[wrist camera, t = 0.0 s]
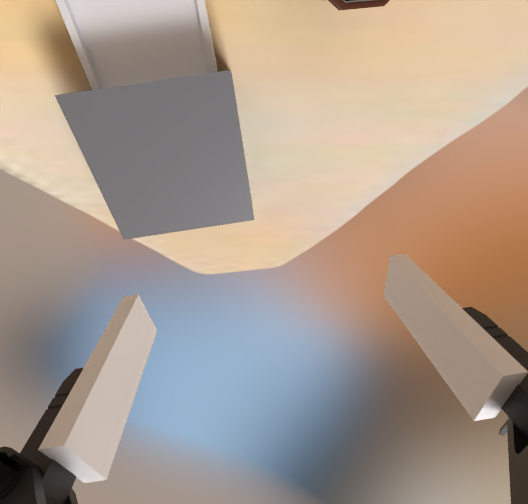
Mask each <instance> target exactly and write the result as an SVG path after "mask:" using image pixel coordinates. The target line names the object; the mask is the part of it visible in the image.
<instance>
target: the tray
mask: <svg viewBox="0 0 528 504" xmlns="http://www.w3.org/2000/svg"><path fill="white" fill-rule="evenodd" d="M55 1H56V3H57V6H58V8H59V10H60V13H61V15H62V18H63V20H64V23H65V25H66V28H67V30H68V32H69V35H70V37H71V40H72V42H73V45H74V47H75V50H76V52H77V55H78V57H79V59H80V62H81V64H82V67H83V69H84V72H85V74H86V77H87V79H88V81H89V84H90V86H91V89H92V90H95V89H102V88H109V87H116V86H123V85H130V84H137V83H144V82H151V81H157V80H164V79H171V78H178V77H185V76H192V75H199V74H206V73H213V72H218V69H217V63H216V58H215V52H214V47H213V41H212V35H211V30H210V24H209V19H208V13H207V8H206V2H205V0H55Z"/></svg>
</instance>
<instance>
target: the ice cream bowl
mask: <svg viewBox="0 0 528 504" xmlns="http://www.w3.org/2000/svg"><path fill="white" fill-rule="evenodd" d="M328 1H330V2H331V3H332V4H333V5H334V6H335V7H336V8H337V9H338V10H347V9H358V8H368V7H379V6H384V5H385V4H386V3H387V2H388V1H389V0H328Z"/></svg>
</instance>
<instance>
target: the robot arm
mask: <svg viewBox="0 0 528 504" xmlns="http://www.w3.org/2000/svg"><path fill="white" fill-rule="evenodd" d="M384 297H385V298H386V300H387V301H388V302H389V304H390V305H391V307H392V308H393V309H394V311H395V312H396V313H397V315H398V316H399V318H400V319H401V320H402V322H403V323H404V325H405V326H406V327H407V329H408V330H409V331H410V333H411V334H412V335H413V337H414V338H415V340H416V341H417V343H418V344H419V345H420V347H421V348H422V350H423V351H424V352H425V353H426V355H427V356H428V358H429V359H430V361H431V362H432V363H433V365H434V366H435V367H436V369H437V370H438V372H439V373H440V374H441V376H442V377H443V379H444V380H445V381H446V383H447V384H448V386H449V387H450V388H451V390H452V391H453V392H454V394H455V395H456V397H457V398H458V399H459V400H460V402H461V404H462V405H463V406H464V408H465V409H466V410H467V412H468V413H469V414H470V416H471V417H472V419H473V420H474V421H477V420H483V419H489V418H495V417H496V416H497V414H498V413H499V412H500V410H501V409H503V411H504V412H505V413H506V414H507V415H508V417H509V419H508V420H507V421H506V422H505V424H504V425H503V426H502V428H501V429H500V432H499V434H500V435H502V436H504V434H505V433H506V432H507V433H508V450H509V451H508V452H509V472H510V491H511V504H528V352H527V351H526V350H524V349H523V348H522V347H521V346H520V345H519V344H518V343H516V341H514V340H513V339H512V338H511V337H510V336H509V337H508V336H507V334H506V333H505V332H504V331H503V330H502V329H501V328H498V326H497V325H496V324H495V323H494V322H493V321H492V320H491V319H490V318H488V317H487V316H486V315H485V314H483V313H481V312H479V311H478V310H476V309H474V308H472V307H467V308H461V307H460V306H459V305H458V304H457V303H456V302H455V301H454V300H453V299H451V297H449V295H447V294H446V293H445V292H444V291H443V290H442V289H441V288H440V287H439V286H438V285H437V284H436V283H435V282H434V281H433V280H432V279H431V278H430V277H429V276H428V275H426V273H425V272H423V271H422V270H421V269H420V268H419V267H418V266H417V265H416V264H415V263H414V262H413V261H412V260H411V259H410V258H409V257H408V256H407V255H406V254H400V255H394V256H390V261H389V267H388V273H387V279H386V285H385V291H384ZM156 332H157V330H156V328H155V326H154V324H153V322H152V320H151V319H150V316H149V314H148V312H147V310H146V309H145V307H144V305H143V303H142V301H141V299H140V297H139V295H132V296H126V297H123V299H122V300H121V302H120V304H119V306H118V308H117V309H116V311H115V313H114V315H113V317H112V318H111V320H110V322H109V324H108V326H107V328H106V329H105V331H104V333H103V335H102V336H101V338H100V340H99V342H98V343H97V345H96V347H95V349H94V351H93V352H92V354H91V356H90V358H89V359H88V361H87V363H86V365H85V367H84V368H80V369H75V370H74V371H73V372H72V373H71V374H70V375H69V376H68V377H67V378H66V379H65V380H64V382H63V383H62V385H61V386H60V388H59V390H58V391H57V393H56V395H55V398H53V400H52V401H51V403H50V405H49V406H48V410H46V411H45V413H44V414H43V416H42V418H41V419H40V421H39V423H38V424H37V426H36V428H35V429H34V431H33V433H32V434H31V436H30V438H29V439H28V441H27V443H26V444H25V446H24V448H23V449H22V451H21V453H20V454H19V453H18V452H16V451H15V450H13V449H12V448H9V447H1V448H0V504H78V502H77V498H76V495H75V492H74V491H73V489H72V486H73V483H74V481H75V479H76V477H77V478H78V479H80V480H81V481H82V482H84V483H89V482H96V481H102V480H107V477H108V473H109V471H110V468H111V465H112V462H113V458H114V456H115V453H116V450H117V447H118V444H119V441H120V438H121V435H122V432H123V429H124V427H125V424H126V421H127V417H128V415H129V412H130V409H131V406H132V403H133V400H134V397H135V394H136V391H137V388H138V385H139V382H140V379H141V376H142V373H143V370H144V367H145V364H146V362H147V359H148V356H149V353H150V350H151V347H152V343H153V341H154V338H155V335H156Z"/></svg>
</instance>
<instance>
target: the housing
mask: <svg viewBox="0 0 528 504" xmlns="http://www.w3.org/2000/svg"><path fill="white" fill-rule="evenodd" d="M55 97H56V99H57V101H58V103H59V105H60V107H61V109H62V111H63V113H64V116H65V118H66V120H67V122H68V124H69V126H70V128H71V130H72V132H73V134H74V136H75V139H76V141H77V143H78V145H79V147H80V149H81V151H82V153H83V155H84V157H85V159H86V161H87V164H88V166H89V168H90V170H91V172H92V174H93V176H94V178H95V180H96V182H97V184H98V187H99V189H100V191H101V193H102V195H103V197H104V199H105V201H106V203H107V205H108V207H109V210H110V212H111V214H112V216H113V218H114V220H115V222H116V224H117V226H118V228H119V230H120V232H121V235H122V237H123V239H131V238H137V237H144V236H151V235H157V234H164V233H170V232H177V231H184V230H190V229H197V228H204V227H210V226H217V225H223V224H230V223H237V222H243V221H250V220H254V216H253V208H252V201H251V194H250V188H249V181H248V175H247V169H246V162H245V156H244V150H243V143H242V137H241V131H240V124H239V118H238V111H237V105H236V99H235V92H234V86H233V80H232V74H231V70H226V71H220V72H213V73H206V74H199V75H192V76H185V77H178V78H171V79H164V80H157V81H151V82H144V83H137V84H130V85H123V86H116V87H109V88H102V89H95V90H88V91H82V92H75V93H68V94H61V95H55Z"/></svg>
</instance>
